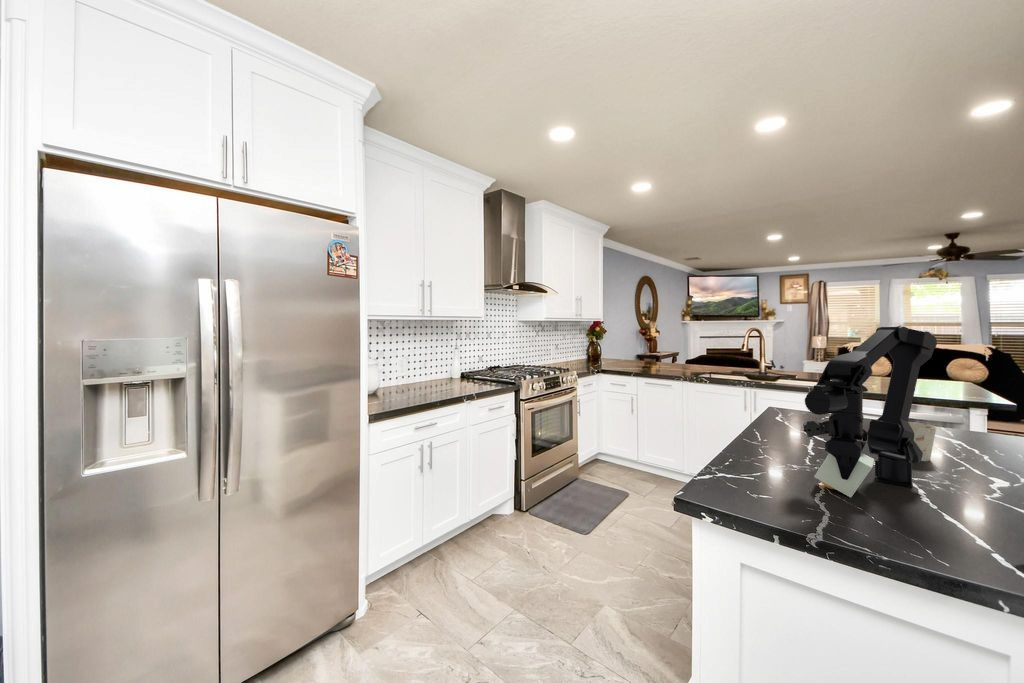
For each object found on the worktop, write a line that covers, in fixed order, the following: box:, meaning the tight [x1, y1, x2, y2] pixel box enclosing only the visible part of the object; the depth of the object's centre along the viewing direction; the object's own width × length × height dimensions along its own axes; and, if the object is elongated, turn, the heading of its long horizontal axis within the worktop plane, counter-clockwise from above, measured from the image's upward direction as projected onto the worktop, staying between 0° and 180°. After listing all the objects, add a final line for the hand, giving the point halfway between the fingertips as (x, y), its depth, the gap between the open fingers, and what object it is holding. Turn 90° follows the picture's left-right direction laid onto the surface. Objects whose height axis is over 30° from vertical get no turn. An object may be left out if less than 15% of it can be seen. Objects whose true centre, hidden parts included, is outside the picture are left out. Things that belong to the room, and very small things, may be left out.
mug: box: [908, 421, 937, 462], centre depth 119 cm, size 8×13×10 cm, turn 78°
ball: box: [820, 481, 836, 490], centre depth 99 cm, size 5×5×5 cm
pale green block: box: [813, 452, 876, 498], centre depth 97 cm, size 8×8×9 cm
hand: (846, 474), depth 97 cm, fingers closed on pale green block, 8 cm apart
